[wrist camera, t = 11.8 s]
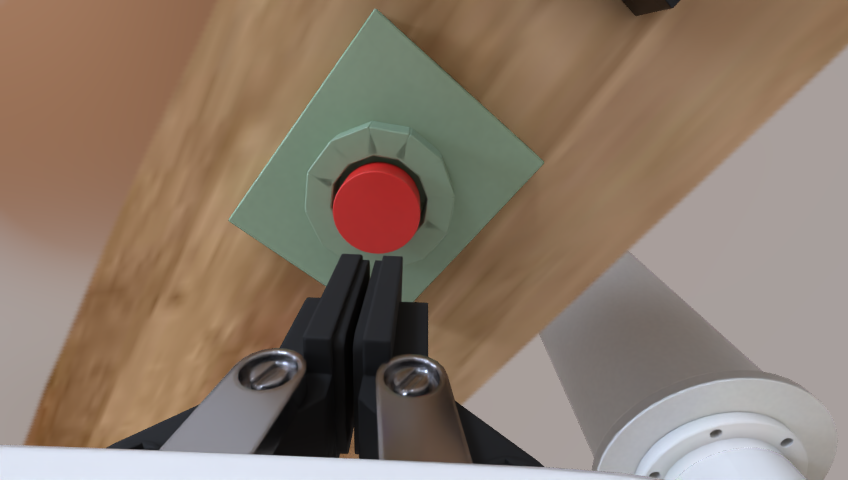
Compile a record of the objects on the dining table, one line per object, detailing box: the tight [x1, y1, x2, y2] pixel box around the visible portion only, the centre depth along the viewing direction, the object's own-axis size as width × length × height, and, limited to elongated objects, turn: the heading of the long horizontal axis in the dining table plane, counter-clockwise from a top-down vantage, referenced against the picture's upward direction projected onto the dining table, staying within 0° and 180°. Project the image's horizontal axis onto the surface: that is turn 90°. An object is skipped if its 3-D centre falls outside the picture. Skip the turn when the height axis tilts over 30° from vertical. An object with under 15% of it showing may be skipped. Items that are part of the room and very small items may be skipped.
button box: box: [229, 9, 544, 302], centre depth 20 cm, size 12×10×4 cm
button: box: [333, 162, 420, 254], centre depth 18 cm, size 4×4×2 cm
